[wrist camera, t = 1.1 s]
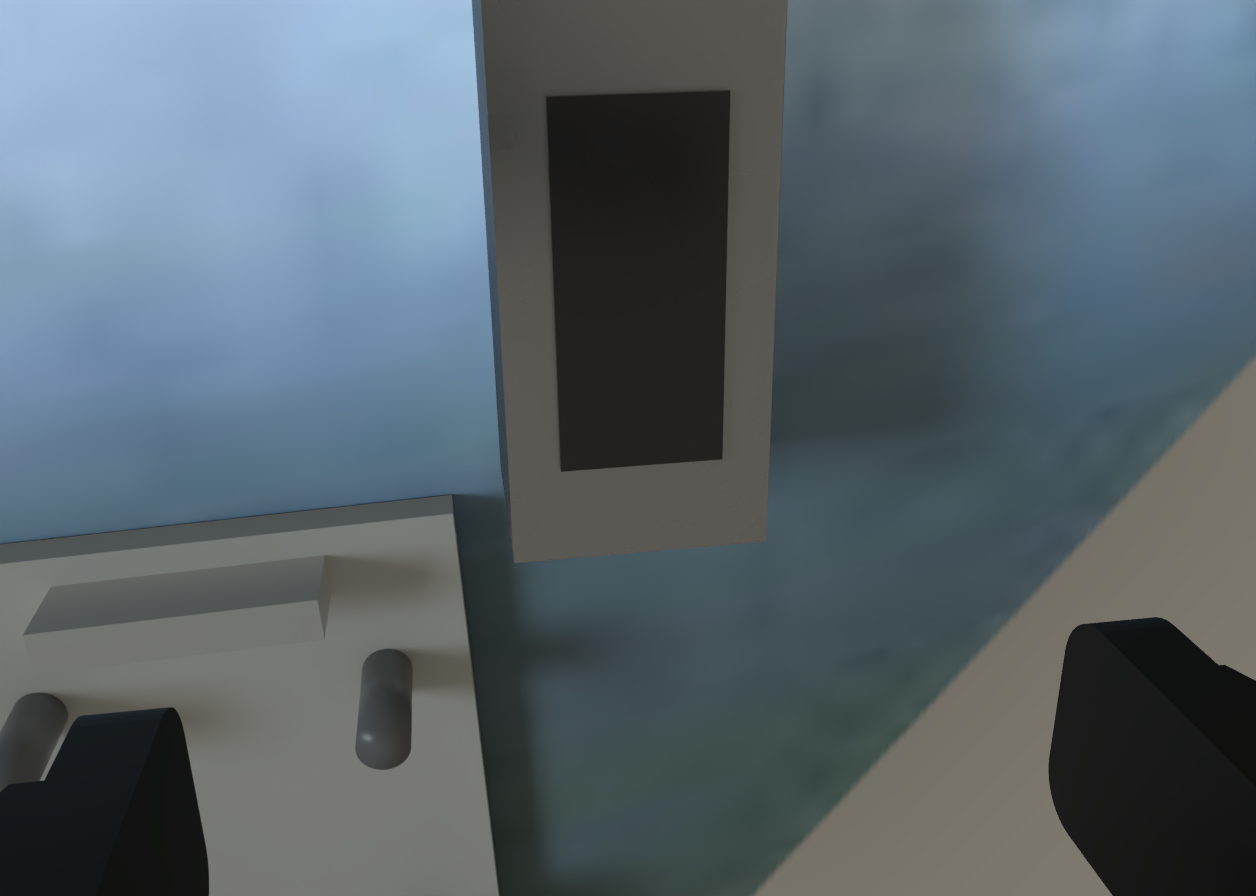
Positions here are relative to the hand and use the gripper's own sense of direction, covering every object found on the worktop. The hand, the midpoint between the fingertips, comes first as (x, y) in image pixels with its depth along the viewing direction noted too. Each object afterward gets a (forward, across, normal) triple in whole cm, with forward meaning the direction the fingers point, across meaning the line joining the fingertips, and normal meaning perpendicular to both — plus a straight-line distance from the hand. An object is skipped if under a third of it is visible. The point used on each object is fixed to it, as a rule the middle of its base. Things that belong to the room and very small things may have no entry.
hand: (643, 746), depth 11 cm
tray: (+17, +8, +13) cm, 23 cm away
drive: (+17, -2, -1) cm, 17 cm away
